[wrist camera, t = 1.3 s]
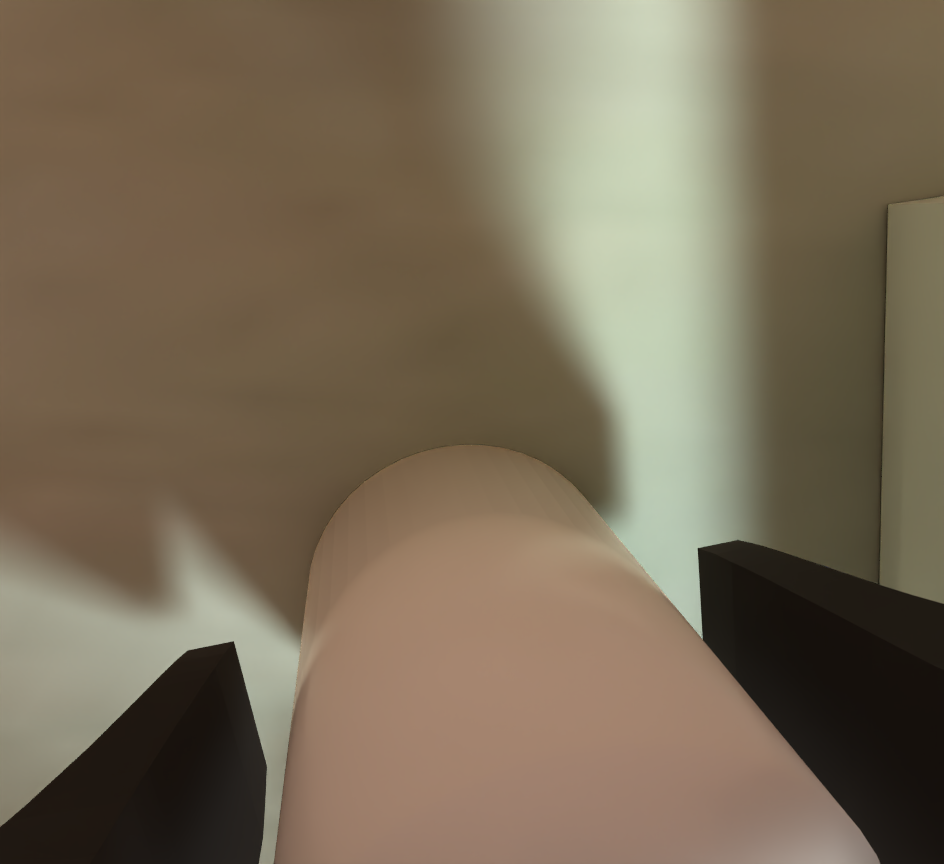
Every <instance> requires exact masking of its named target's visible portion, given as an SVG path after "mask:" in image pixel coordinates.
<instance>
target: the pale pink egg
mask: <svg viewBox="0 0 944 864" xmlns="http://www.w3.org/2000/svg"><path fill="white" fill-rule="evenodd" d="M274 864H880V862H879V859H878V857H877V855H876V853H875V852H874V850H873V849H872V847H871V846H870V844H869V843H868V841H867V840H866V838H865V837H864V835H863V834H862V832H861V830H860V829H859V828H858V827H857V825H856V824H855V823H854V822H853V821H852V819H851V818H850V817H849V816H848V815H847V813H846V812H845V811H844V810H843V809H842V807H841V806H840V805H839V804H838V802H837V801H836V800H835V799H834V798H833V796H832V795H831V794H830V793H829V792H828V790H827V789H826V788H825V787H824V786H823V784H822V783H821V782H820V781H819V780H818V778H817V777H816V776H815V775H814V774H813V772H812V771H811V770H810V769H809V767H808V766H807V765H806V764H805V763H804V761H803V760H802V759H801V758H800V757H799V755H798V754H797V753H796V752H795V751H794V749H793V748H792V747H791V746H790V745H789V743H788V742H787V741H786V740H785V739H784V737H783V736H782V735H781V734H780V732H779V731H778V730H777V729H776V728H775V726H774V725H773V724H772V723H771V722H770V720H769V719H768V718H767V717H766V716H765V714H764V713H763V712H762V711H761V710H760V708H759V707H758V706H757V705H756V704H755V702H754V701H753V700H752V699H751V697H750V696H749V695H748V694H747V693H746V691H745V690H744V689H743V688H742V687H741V685H740V684H739V683H738V682H737V681H736V679H735V678H734V677H733V676H732V675H731V673H730V672H729V671H728V670H727V669H726V667H725V666H724V665H723V664H722V662H721V661H720V660H719V659H718V658H717V656H716V655H715V654H714V653H713V652H712V650H711V649H710V648H709V647H708V646H707V644H706V643H705V642H704V641H703V640H702V638H701V637H700V636H699V635H698V634H697V632H696V631H695V630H694V629H693V627H692V626H691V625H690V624H689V623H688V621H687V620H686V619H685V618H684V617H683V615H682V614H681V613H680V612H679V611H678V609H677V608H676V607H675V606H674V605H673V603H672V602H671V601H670V600H669V599H668V597H667V596H666V595H665V594H664V592H663V591H662V590H661V589H660V588H659V586H658V585H657V584H656V583H655V582H654V580H653V579H652V578H651V577H650V576H649V574H648V573H647V572H646V571H645V570H644V568H643V567H642V566H641V565H640V564H639V562H638V561H637V560H636V559H635V557H634V556H633V555H632V554H631V553H630V551H629V550H628V549H627V548H626V547H625V545H624V544H623V543H622V542H621V541H620V539H619V538H618V537H617V536H616V535H615V533H614V532H613V531H612V530H611V529H610V527H609V526H608V525H607V524H606V522H605V521H604V520H603V519H602V518H601V516H600V515H599V514H598V513H597V512H596V510H595V509H594V508H593V507H592V506H591V504H590V503H589V502H588V501H587V500H586V498H585V497H584V496H583V495H582V494H581V493H580V492H579V491H578V489H577V488H576V487H575V486H574V485H573V484H572V483H571V482H570V481H569V480H567V479H566V478H565V477H564V476H563V475H561V474H560V473H559V472H558V471H556V470H555V469H553V468H551V467H550V466H548V465H546V464H545V463H543V462H541V461H540V460H537V459H535V458H533V457H530V456H528V455H526V454H523V453H520V452H517V451H513V450H509V449H506V448H502V447H494V446H487V445H454V446H445V447H439V448H435V449H431V450H427V451H422V452H419V453H416V454H414V455H411V456H409V457H406V458H403V459H401V460H399V461H397V462H395V463H393V464H391V465H389V466H387V467H385V468H384V469H382V470H380V471H379V472H377V473H376V474H375V475H373V476H372V477H370V478H369V479H367V480H366V481H365V482H363V483H362V484H361V485H360V486H359V487H358V488H357V489H356V490H355V491H354V492H353V493H351V494H350V495H349V496H348V497H347V499H346V500H345V501H344V502H343V503H342V505H341V506H340V507H339V508H338V509H337V511H336V512H335V513H334V515H333V516H332V518H331V520H330V521H329V523H328V524H327V526H326V527H325V529H324V531H323V534H322V536H321V538H320V540H319V542H318V544H317V547H316V550H315V553H314V557H313V560H312V563H311V568H310V575H309V582H308V590H307V598H306V606H305V614H304V622H303V630H302V639H301V647H300V655H299V663H298V671H297V679H296V688H295V696H294V704H293V712H292V720H291V728H290V737H289V745H288V753H287V761H286V769H285V777H284V786H283V794H282V802H281V810H280V818H279V826H278V835H277V843H276V851H275V859H274Z"/></svg>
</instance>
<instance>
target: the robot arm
mask: <svg viewBox="0 0 944 864" xmlns="http://www.w3.org/2000/svg"><path fill="white" fill-rule="evenodd" d="M698 560H699V578H700V596H701V614H702V632H703V641H704V642H705V643H706V644H707V646H708V647H709V648H710V649H711V650H712V652H713V653H714V654H715V655H716V656H717V658H718V659H719V660H720V661H721V662H722V664H723V665H724V666H725V667H726V669H727V670H728V671H729V672H730V673H731V675H732V676H733V677H734V678H735V679H736V681H737V682H738V683H739V684H740V685H741V687H742V688H743V689H744V690H745V691H746V693H747V694H748V695H749V696H750V697H751V699H752V700H753V701H754V702H755V704H756V705H757V706H758V707H759V708H760V710H761V711H762V712H763V713H764V714H765V716H766V717H767V718H768V719H769V720H770V722H771V723H772V724H773V725H774V726H775V728H776V729H777V730H778V731H779V732H780V734H781V735H782V736H783V737H784V739H785V740H786V741H787V742H788V743H789V745H790V746H791V747H792V748H793V749H794V751H795V752H796V753H797V754H798V755H799V757H800V758H801V759H802V760H803V761H804V763H805V764H806V765H807V766H808V767H809V769H810V770H811V771H812V772H813V774H814V775H815V776H816V777H817V778H818V780H819V781H820V782H821V783H822V784H823V786H824V787H825V788H826V789H827V790H828V792H829V793H830V794H831V795H832V796H833V798H834V799H835V800H836V801H837V802H838V804H839V805H840V806H841V807H842V809H843V810H844V811H845V812H846V813H847V815H848V816H849V817H850V818H851V819H852V821H853V822H854V823H855V824H856V825H857V827H858V828H859V829H860V830H861V832H862V834H863V835H864V837H865V838H866V840H867V841H868V843H869V844H870V846H871V847H872V849H873V850H874V852H875V853H876V855H877V857H878V859H879V862H880V864H944V604H943V603H939V602H936V601H932V600H929V599H925V598H922V597H918V596H914V595H911V594H908V593H905V592H901V591H898V590H895V589H892V588H888V587H885V586H882V585H879V584H876V583H873V582H870V581H867V580H863V579H860V578H857V577H854V576H851V575H848V574H845V573H842V572H839V571H837V570H834V569H831V568H828V567H825V566H822V565H819V564H816V563H813V562H810V561H807V560H804V559H801V558H798V557H795V556H792V555H789V554H786V553H783V552H780V551H777V550H774V549H771V548H767V547H764V546H760V545H757V544H753V543H749V542H744V541H740V540H736V541H731V542H726V543H721V544H716V545H712V546H707V547H702V548H698ZM266 773H267V765H266V762H265V758H264V754H263V750H262V746H261V743H260V739H259V735H258V731H257V728H256V724H255V720H254V716H253V712H252V709H251V705H250V701H249V697H248V693H247V690H246V686H245V682H244V678H243V675H242V671H241V667H240V663H239V659H238V656H237V652H236V648H235V644H234V641H233V642H228V643H223V644H218V645H213V646H208V647H203V648H198V649H193V650H188V651H187V652H186V653H184V654H183V655H182V656H181V657H180V658H179V659H177V660H176V661H175V662H174V663H173V664H172V665H171V666H170V667H169V668H168V669H167V670H166V671H165V672H164V673H163V674H162V675H161V676H160V677H159V678H158V679H157V680H156V681H155V682H154V683H153V684H152V685H151V686H150V687H149V688H148V689H147V690H146V691H145V692H144V693H143V694H142V695H141V696H140V697H139V698H138V699H137V700H136V701H135V702H134V703H133V704H132V705H131V706H130V707H129V708H128V709H127V710H126V711H125V712H124V713H123V714H122V715H121V716H120V717H119V718H118V719H117V720H116V721H115V722H114V723H113V724H112V725H111V726H110V727H109V728H108V729H107V730H106V731H105V732H104V733H103V734H102V735H101V736H100V737H99V738H98V739H97V740H96V741H95V742H94V743H93V744H92V745H91V746H90V747H89V748H88V749H87V750H86V751H84V752H83V753H82V754H81V755H80V756H79V757H78V758H77V759H76V760H75V761H74V762H72V763H71V764H70V765H69V766H68V767H67V768H66V769H65V770H64V771H63V772H62V773H60V774H59V775H58V776H57V777H56V778H55V779H54V780H53V781H52V782H51V783H50V784H49V785H47V786H46V787H45V788H44V789H43V790H42V791H41V792H40V793H39V794H38V795H37V796H35V797H34V798H33V799H32V800H31V801H30V802H29V803H28V804H27V805H26V806H25V807H23V808H22V809H21V810H20V811H19V812H18V813H16V814H15V815H14V816H13V817H12V818H11V819H9V820H8V821H7V822H6V823H5V824H3V825H2V826H1V827H0V864H258V863H259V858H260V852H261V846H262V840H263V828H264V813H265V795H266Z"/></svg>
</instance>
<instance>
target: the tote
mask: <svg viewBox="0 0 944 864" xmlns="http://www.w3.org/2000/svg"><path fill="white" fill-rule="evenodd" d="M879 585H882V586H885V587H888V588H892V589H895V590H898V591H901V592H905V593H908V594H911V595H914V596H918V597H922V598H925V599H929V600H932V601H936V602H939V603H943V604H944V196H940V197H934V198H928V199H921V200H915V201H908V202H902V203H895V204H889V205H888V234H887V277H886V321H885V364H884V408H883V451H882V495H881V538H880V582H879Z"/></svg>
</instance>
